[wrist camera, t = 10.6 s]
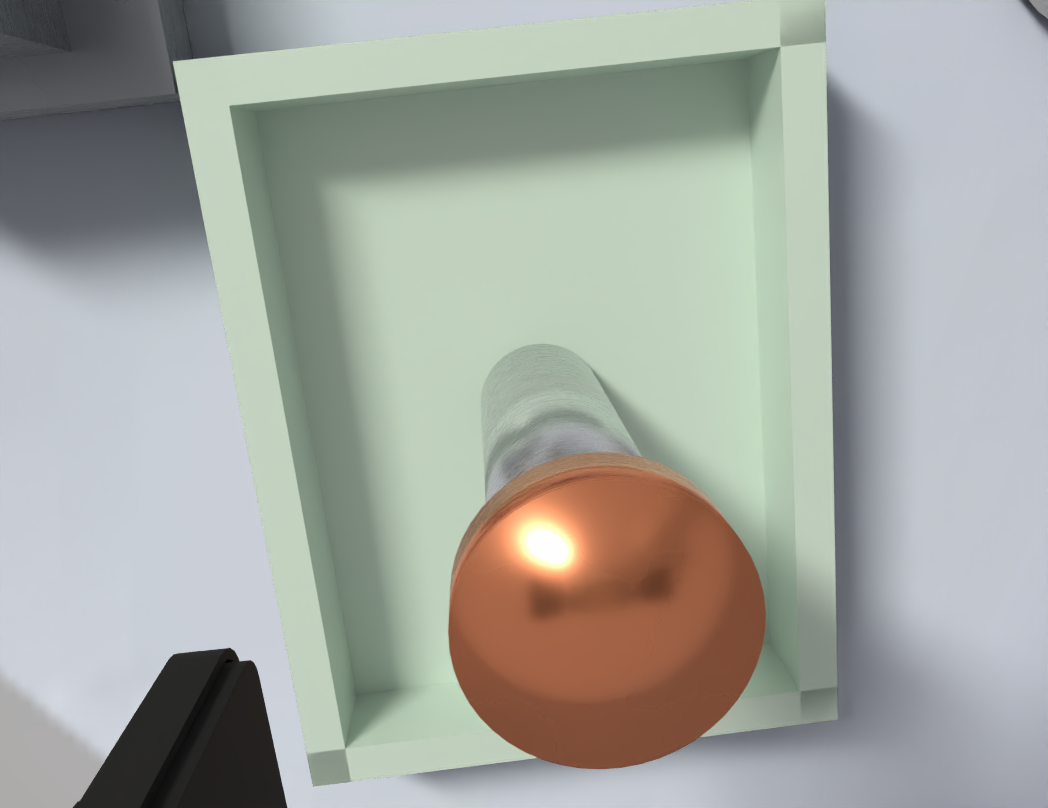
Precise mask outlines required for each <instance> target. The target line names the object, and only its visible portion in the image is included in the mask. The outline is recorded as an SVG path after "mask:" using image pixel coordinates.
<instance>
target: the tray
mask: <svg viewBox="0 0 1048 808" xmlns="http://www.w3.org/2000/svg"><path fill="white" fill-rule="evenodd" d="M173 65H174V71H175V76H176V81H177V86H178V91H179V96H180V102H181V107H182V112H183V117H184V122H185V127H186V133H187V138H188V143H189V148H190V153H191V158H192V164H193V169H194V174H195V179H196V184H197V190H198V195H199V200H200V205H201V210H202V215H203V221H204V226H205V231H206V236H207V241H208V246H209V252H210V257H211V262H212V267H213V272H214V277H215V283H216V288H217V293H218V298H219V303H220V308H221V314H222V319H223V324H224V329H225V334H226V339H227V345H228V350H229V355H230V360H231V365H232V370H233V376H234V381H235V386H236V391H237V396H238V402H239V407H240V412H241V417H242V422H243V427H244V433H245V438H246V443H247V448H248V453H249V458H250V464H251V469H252V474H253V479H254V484H255V489H256V495H257V500H258V505H259V510H260V515H261V520H262V526H263V531H264V536H265V541H266V546H267V551H268V557H269V562H270V567H271V572H272V577H273V582H274V588H275V593H276V598H277V603H278V608H279V614H280V619H281V624H282V629H283V634H284V639H285V645H286V650H287V655H288V660H289V665H290V670H291V676H292V681H293V686H294V691H295V696H296V701H297V707H298V712H299V717H300V722H301V727H302V732H303V738H304V743H305V748H306V753H307V758H308V763H309V769H310V774H311V779H312V784H313V787H314V786H321V785H329V784H337V783H345V782H353V781H361V780H369V779H376V778H384V777H392V776H400V775H408V774H416V773H424V772H431V771H439V770H447V769H455V768H463V767H471V766H479V765H486V764H494V763H502V762H510V761H518V760H526V759H534V758H537V757H535V756H533V755H530V754H528V753H525V752H524V751H522V750H520V749H518V748H517V747H515V746H513V745H511V744H510V743H508V742H507V741H506V740H504V739H503V738H502V737H500V736H499V735H498V734H496V733H495V732H494V731H493V730H492V729H491V728H490V727H489V726H488V725H487V724H486V723H485V722H484V721H483V720H482V719H481V718H480V717H479V716H478V714H477V713H476V712H475V710H474V709H473V708H472V706H471V705H470V704H469V702H468V700H467V699H466V697H465V695H464V693H463V691H462V689H461V688H460V685H459V683H458V680H457V677H456V675H455V672H454V669H453V665H452V660H451V656H450V651H449V637H448V623H449V599H450V583H451V573H452V568H453V564H454V559H455V556H456V553H457V550H458V548H459V545H460V542H461V540H462V538H463V536H464V534H465V532H466V530H467V528H468V527H469V525H470V523H471V522H472V520H473V519H474V517H475V516H476V515H477V513H478V512H479V511H480V509H481V508H482V507H483V506H484V505H485V504H486V499H485V480H484V460H483V440H482V420H481V394H482V389H483V386H484V383H485V380H486V378H487V376H488V374H489V373H490V371H491V370H492V368H493V367H494V366H495V365H496V364H497V362H498V361H499V360H501V359H502V358H503V357H504V356H505V355H507V354H509V353H510V352H512V351H514V350H516V349H518V348H521V347H524V346H527V345H533V344H552V345H557V346H560V347H563V348H566V349H568V350H570V351H572V352H574V353H575V354H577V355H578V356H579V357H581V358H582V359H583V360H584V361H585V362H586V363H587V364H588V366H589V367H590V368H591V370H592V371H593V373H594V375H595V376H596V378H597V380H598V381H599V383H600V385H601V387H602V388H603V390H604V392H605V394H606V395H607V397H608V399H609V400H610V402H611V404H612V406H613V407H614V409H615V411H616V413H617V414H618V416H619V418H620V419H621V421H622V423H623V425H624V426H625V428H626V430H627V432H628V433H629V435H630V437H631V438H632V440H633V442H634V444H635V445H636V447H637V449H638V451H639V452H640V454H641V456H642V457H643V458H646V459H649V460H652V461H655V462H658V463H661V464H663V465H665V466H667V467H669V468H671V469H673V470H675V471H677V472H679V473H680V474H682V475H683V476H685V477H686V478H688V479H689V480H691V481H692V482H693V483H695V484H696V485H697V486H698V487H699V488H700V489H701V490H702V491H703V492H705V493H706V494H707V495H708V497H709V498H710V499H711V500H712V501H713V503H714V504H715V505H716V506H717V507H718V509H719V510H720V512H721V513H722V514H723V516H724V517H725V519H726V520H727V521H728V523H729V524H730V526H731V527H732V528H733V530H734V531H735V533H736V534H737V535H738V537H739V538H740V540H741V541H742V543H743V544H744V546H745V548H746V549H747V551H748V552H749V554H750V556H751V557H752V560H753V562H754V564H755V567H756V569H757V571H758V574H759V577H760V581H761V585H762V588H763V592H764V600H765V609H766V620H765V634H764V640H763V646H762V650H761V653H760V656H759V659H758V663H757V666H756V668H755V670H754V672H753V674H752V677H751V679H750V681H749V683H748V685H747V686H746V688H745V689H744V691H743V693H742V694H741V696H740V697H739V699H738V700H737V701H736V703H735V704H734V705H733V706H732V708H731V709H730V710H729V711H728V712H727V714H726V715H725V716H724V717H723V718H722V719H720V720H719V721H718V722H717V723H716V724H715V725H714V726H713V727H712V728H711V729H710V730H708V731H707V732H706V733H704V734H703V735H701V736H700V737H706V736H714V735H722V734H730V733H738V732H746V731H753V730H761V729H769V728H777V727H785V726H793V725H801V724H808V723H816V722H824V721H832V720H838V687H837V632H836V577H835V522H834V467H833V412H832V357H831V302H830V247H829V192H828V137H827V82H826V27H825V0H750V1H741V2H731V3H722V4H712V5H703V6H693V7H684V8H674V9H665V10H655V11H646V12H636V13H627V14H617V15H608V16H598V17H589V18H579V19H570V20H560V21H551V22H542V23H532V24H523V25H513V26H504V27H494V28H485V29H475V30H466V31H456V32H447V33H437V34H428V35H418V36H409V37H399V38H390V39H380V40H371V41H361V42H352V43H342V44H333V45H323V46H314V47H304V48H295V49H285V50H276V51H267V52H257V53H248V54H238V55H229V56H219V57H210V58H200V59H191V60H181V61H173Z"/></svg>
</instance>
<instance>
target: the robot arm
mask: <svg viewBox="0 0 1048 808" xmlns="http://www.w3.org/2000/svg"><path fill="white" fill-rule="evenodd" d="M1029 1H1030V2H1031V3H1032V5H1033V6H1034V7H1035V8H1036V10H1037V11H1038V12H1040V13H1041V14H1042V15H1043V16H1045V17H1046V18H1047V19H1048V0H1029ZM73 808H287V805H286V800H285V795H284V791H283V786H282V781H281V777H280V772H279V767H278V763H277V758H276V754H275V749H274V744H273V740H272V735H271V730H270V726H269V721H268V716H267V712H266V707H265V702H264V698H263V693H262V688H261V684H260V679H259V675H258V671H257V668H256V666H255V664H254V662H252V661H251V660H249V661H240V662H239V658H238V656H237V655H236V653H235V651H234V650H232V649H231V648H226V649H217V650H207V651H197V652H188V653H178V654H174V655H173V656H172V657H171V658H170V659H169V660H168V662H167V663H166V665H165V666H164V668H163V669H162V671H161V673H160V674H159V676H158V677H157V679H156V681H155V682H154V684H153V685H152V687H151V689H150V690H149V692H148V693H147V695H146V697H145V698H144V700H143V701H142V703H141V705H140V706H139V708H138V709H137V711H136V713H135V714H134V716H133V717H132V719H131V720H130V722H129V724H128V725H127V727H126V728H125V730H124V732H123V733H122V735H121V736H120V738H119V740H118V741H117V743H116V744H115V746H114V748H113V749H112V751H111V752H110V754H109V756H108V757H107V759H106V760H105V762H104V764H103V765H102V767H101V768H100V770H99V771H98V773H97V775H96V776H95V778H94V779H93V781H92V783H91V784H90V786H89V788H88V789H87V791H86V792H85V794H84V795H83V797H82V799H81V800H80V801H79V802H77V803H76V804H75V806H74V807H73Z"/></svg>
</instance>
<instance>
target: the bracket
mask: <svg viewBox="0 0 1048 808" xmlns="http://www.w3.org/2000/svg"><path fill="white" fill-rule="evenodd" d="M191 59H193V57H192V52H191V47H190V41H189V36H188V31H187V25H186V20H185V15H184V9H183V4H182V0H0V120H7V119H16V118H26V117H35V116H44V115H54V114H63V113H73V112H82V111H91V110H101V109H110V108H120V107H129V106H138V105H148V104H157V103H166V102H176V101H180V96H179V91H178V86H177V81H176V76H175V71H174V65H173V61H181V60H191Z"/></svg>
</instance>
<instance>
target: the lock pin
mask: <svg viewBox="0 0 1048 808" xmlns="http://www.w3.org/2000/svg"><path fill="white" fill-rule="evenodd" d="M481 420H482V440H483V460H484V480H485V499H486V504H485V505H484V506H483V507H482V508H481V509H480V511H479V512H478V513H477V515H476V516H475V517H474V519H473V520H472V522H471V523H470V525H469V527H468V528H467V530H466V532H465V534H464V536H463V538H462V540H461V542H460V545H459V548H458V550H457V553H456V556H455V559H454V564H453V568H452V573H451V583H450V599H449V623H448V637H449V651H450V656H451V660H452V665H453V669H454V672H455V675H456V677H457V680H458V683H459V685H460V688H461V689H462V691H463V693H464V695H465V697H466V699H467V700H468V702H469V704H470V705H471V706H472V708H473V709H474V710H475V712H476V713H477V714H478V716H479V717H480V718H481V719H482V720H483V721H484V722H485V723H486V724H487V725H488V726H489V727H490V728H491V729H492V730H493V731H494V732H495V733H496V734H498V735H499V736H500V737H502V738H503V739H504V740H506V741H507V742H508V743H510V744H511V745H513V746H515V747H517V748H518V749H520V750H522V751H524V752H525V753H528V754H530V755H533V756H535V757H537V758H540V759H542V760H545V761H549V762H552V763H556V764H559V765H564V766H570V767H576V768H587V769H609V768H622V767H627V766H632V765H638V764H642V763H645V762H649V761H652V760H655V759H658V758H661V757H663V756H666V755H668V754H670V753H673V752H675V751H677V750H679V749H681V748H683V747H684V746H686V745H688V744H689V743H691V742H693V741H695V740H696V739H697V738H699V737H700V736H701V735H703V734H704V733H706V732H707V731H708V730H710V729H711V728H712V727H713V726H714V725H715V724H716V723H717V722H718V721H719V720H720V719H722V718H723V717H724V716H725V715H726V714H727V712H728V711H729V710H730V709H731V708H732V706H733V705H734V704H735V703H736V701H737V700H738V699H739V697H740V696H741V694H742V693H743V691H744V689H745V688H746V686H747V685H748V683H749V681H750V679H751V677H752V674H753V672H754V670H755V668H756V666H757V663H758V659H759V656H760V653H761V650H762V646H763V640H764V634H765V620H766V609H765V600H764V592H763V588H762V585H761V581H760V577H759V574H758V571H757V569H756V567H755V564H754V562H753V560H752V557H751V556H750V554H749V552H748V551H747V549H746V548H745V546H744V544H743V543H742V541H741V540H740V538H739V537H738V535H737V534H736V533H735V531H734V530H733V528H732V527H731V526H730V524H729V523H728V521H727V520H726V519H725V517H724V516H723V514H722V513H721V512H720V510H719V509H718V507H717V506H716V505H715V504H714V503H713V501H712V500H711V499H710V498H709V497H708V495H707V494H706V493H705V492H703V491H702V490H701V489H700V488H699V487H698V486H697V485H696V484H695V483H693V482H692V481H691V480H689V479H688V478H686V477H685V476H683V475H682V474H680V473H679V472H677V471H675V470H673V469H671V468H669V467H667V466H665V465H663V464H661V463H658V462H655V461H652V460H649V459H646V458H643V457H642V456H641V454H640V452H639V451H638V449H637V447H636V445H635V444H634V442H633V440H632V438H631V437H630V435H629V433H628V432H627V430H626V428H625V426H624V425H623V423H622V421H621V419H620V418H619V416H618V414H617V413H616V411H615V409H614V407H613V406H612V404H611V402H610V400H609V399H608V397H607V395H606V394H605V392H604V390H603V388H602V387H601V385H600V383H599V381H598V380H597V378H596V376H595V375H594V373H593V371H592V370H591V368H590V367H589V366H588V364H587V363H586V362H585V361H584V360H583V359H582V358H581V357H579V356H578V355H577V354H575V353H574V352H572V351H570V350H568V349H566V348H563V347H560V346H557V345H552V344H533V345H527V346H524V347H521V348H518V349H516V350H514V351H512V352H510V353H509V354H507V355H505V356H504V357H503V358H502V359H501V360H499V361H498V362H497V364H496V365H495V366H494V367H493V368H492V370H491V371H490V373H489V374H488V376H487V378H486V380H485V383H484V386H483V389H482V394H481Z"/></svg>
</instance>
